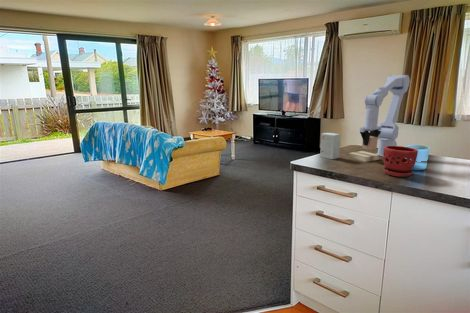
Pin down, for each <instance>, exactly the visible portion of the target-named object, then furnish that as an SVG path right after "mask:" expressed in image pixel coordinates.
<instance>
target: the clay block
mask: <svg viewBox="0 0 470 313" xmlns="http://www.w3.org/2000/svg"><path fill="white" fill-rule="evenodd" d="M378 142H379V139H378V137H373V136H370V138H369V143H368V146H366V145H364V144H363V142H362V144H361V148H362V149H365V150H369V151H372V150H376V149H377V150H378Z"/></svg>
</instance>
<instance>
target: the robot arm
mask: <svg viewBox="0 0 470 313" xmlns="http://www.w3.org/2000/svg"><path fill="white" fill-rule="evenodd" d="M410 83H411V81H410V76H409V74H403V75H398V74H397V75H396V74H395V75H392V74H391V75H388V76H387V78H386V82H385V84H384V85H382V86H378V88H377V89H375V91H374V92H373V93H372V94H368V95H366V97H365V100H364V104H365V109H366V113H365V123H364V124H365V125H364V126H362V127H360V128H359V134H360V136H361V138H362V143H363V144H364V145H366V146H368V143H369V138H370V136H373V137H378V144H377V152H376V153H374V154H378V155H380V157H383V154H384V147H385V146H398V144H397V141H396V139H398V136H399V131H400V130H399V129H400V127H399V126H398V125H397V123H396V121H397V117H398V114H399V112H400V111H399V110H400V107H401V104H402V101H403V97H404V94H405V93H407V92H408V89H409V86H410ZM389 92H390V93H392V97H391V101H390V104H389V107H388V110H387V113H386V116H385V120H384V121H383V122H381V123H379V122H378V121H379V111H380V106H382V104H383V101H384V99H385V98H386V97H387V96H388V95H389ZM378 124H379V125H378Z"/></svg>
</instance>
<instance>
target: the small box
mask: <svg viewBox="0 0 470 313" xmlns="http://www.w3.org/2000/svg"><path fill="white" fill-rule="evenodd" d="M320 134H321V136H320V140H321V141H320V154H319V156H320V158H324V159H331V160H334V159H339V158H340V149H341V148H340V146H341V133H334V132H323V133H320Z"/></svg>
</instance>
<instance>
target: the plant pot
mask: <svg viewBox="0 0 470 313" xmlns="http://www.w3.org/2000/svg"><path fill="white" fill-rule="evenodd" d="M418 152H419V150H418V149H416V148H413V147H410V146H409V147H408V146H403V145H401V146H400V145H397V146H385V147H384V154H383V156H382V159H383V164H384V167H383V169H382V170H383V172H384V173H385V174H387V175H389V176H392V177H399V178H403V177H409V176H411V175H412V174H413V171H412V169H413V168H414V166H415V164H416V162H417V157H418Z"/></svg>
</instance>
